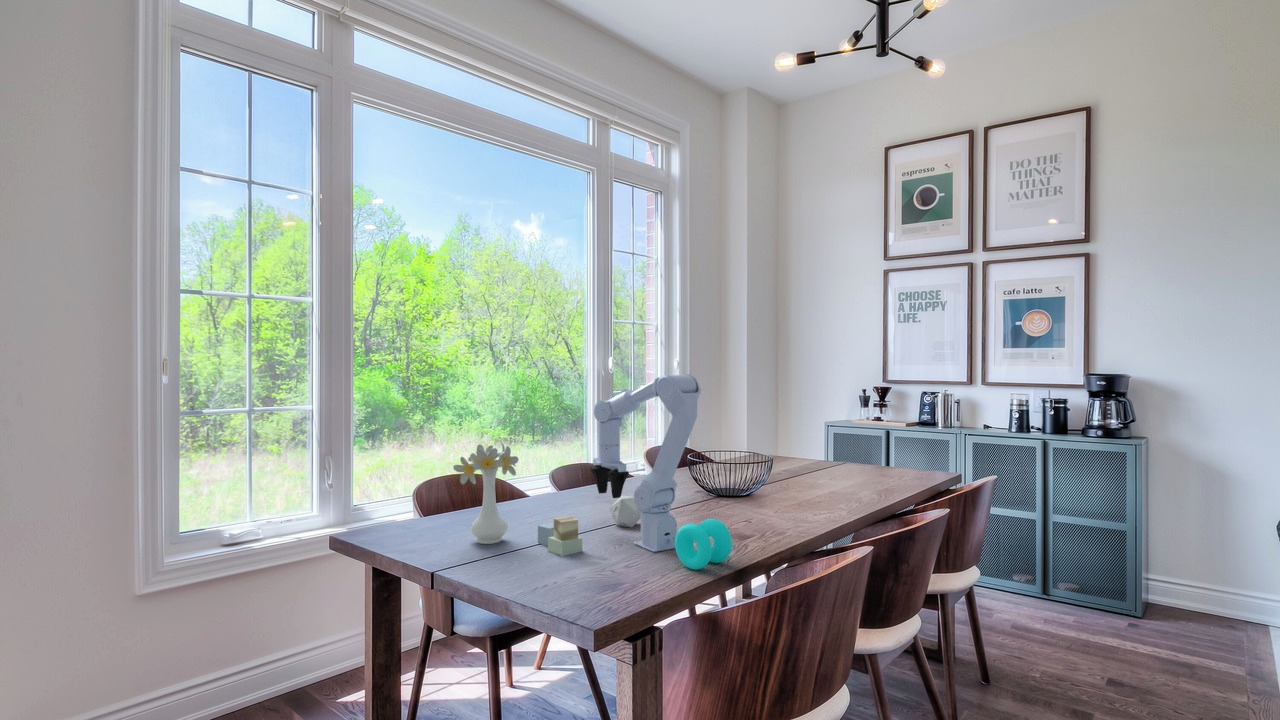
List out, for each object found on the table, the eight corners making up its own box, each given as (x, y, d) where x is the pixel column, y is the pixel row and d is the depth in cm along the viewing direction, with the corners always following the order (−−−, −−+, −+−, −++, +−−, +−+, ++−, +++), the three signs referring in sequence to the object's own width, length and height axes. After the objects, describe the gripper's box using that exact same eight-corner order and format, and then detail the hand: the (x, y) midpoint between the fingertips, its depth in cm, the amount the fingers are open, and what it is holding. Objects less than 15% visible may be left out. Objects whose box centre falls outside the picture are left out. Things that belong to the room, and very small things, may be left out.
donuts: (734, 565, 151) (734, 521, 151) (705, 575, 144) (705, 529, 144) (701, 556, 158) (701, 514, 158) (672, 565, 151) (672, 521, 151)
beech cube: (578, 538, 163) (578, 519, 163) (561, 540, 160) (561, 522, 160) (570, 534, 167) (570, 516, 167) (553, 536, 164) (553, 518, 164)
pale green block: (582, 552, 163) (582, 537, 163) (562, 556, 159) (562, 542, 159) (568, 547, 168) (567, 533, 168) (548, 551, 164) (548, 537, 164)
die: (612, 523, 194) (601, 499, 189) (638, 506, 196) (627, 482, 191) (626, 540, 187) (614, 516, 182) (652, 522, 190) (641, 498, 184)
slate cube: (562, 542, 171) (562, 525, 171) (549, 546, 168) (549, 528, 168) (551, 539, 174) (551, 522, 174) (537, 543, 171) (537, 525, 171)
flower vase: (447, 549, 165) (446, 448, 165) (485, 531, 183) (485, 440, 183) (493, 553, 161) (493, 450, 161) (528, 535, 179) (528, 441, 179)
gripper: (583, 443, 183) (583, 492, 183) (609, 448, 171) (609, 501, 171) (605, 441, 187) (606, 489, 187) (633, 446, 175) (633, 498, 175)
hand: (609, 495), depth 179 cm, fingers open, 7 cm apart
